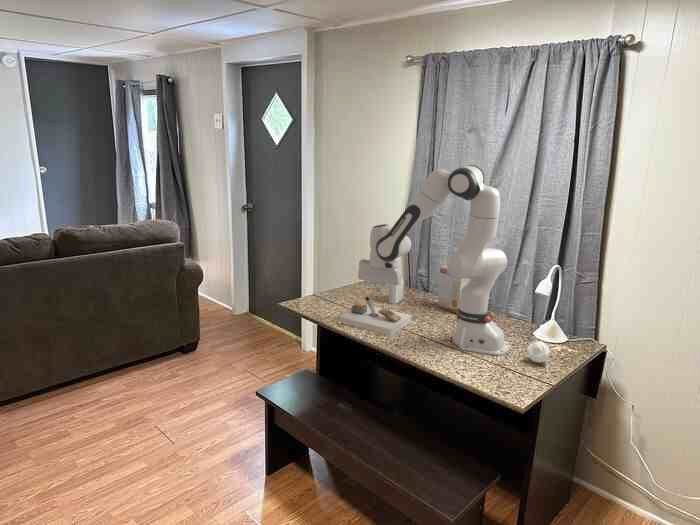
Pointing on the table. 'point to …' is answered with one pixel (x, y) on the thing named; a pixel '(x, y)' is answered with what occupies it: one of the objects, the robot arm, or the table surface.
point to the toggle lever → (370, 304)
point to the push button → (359, 304)
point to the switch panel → (374, 320)
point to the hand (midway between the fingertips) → (379, 291)
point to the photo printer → (396, 293)
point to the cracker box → (450, 290)
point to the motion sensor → (538, 352)
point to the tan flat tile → (389, 314)
